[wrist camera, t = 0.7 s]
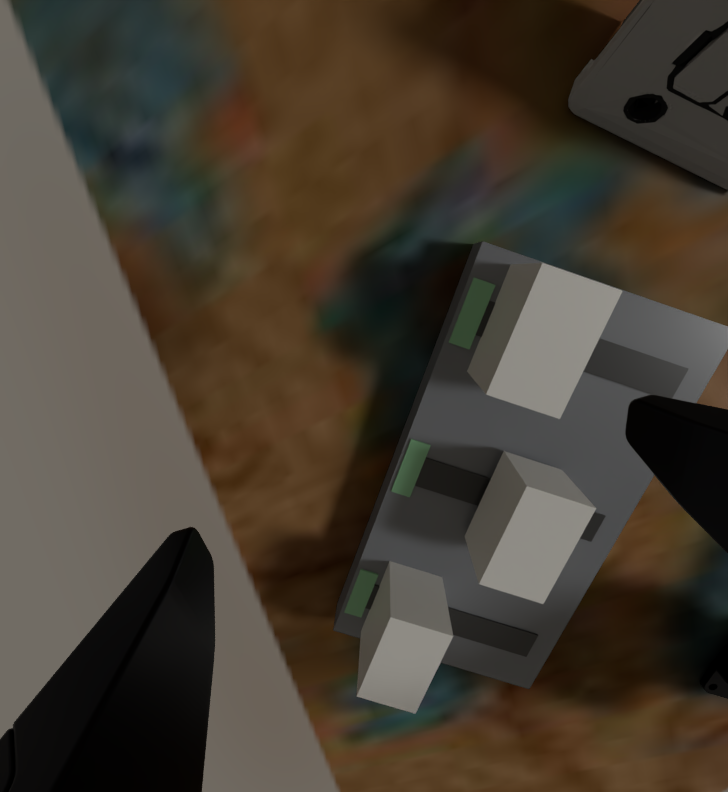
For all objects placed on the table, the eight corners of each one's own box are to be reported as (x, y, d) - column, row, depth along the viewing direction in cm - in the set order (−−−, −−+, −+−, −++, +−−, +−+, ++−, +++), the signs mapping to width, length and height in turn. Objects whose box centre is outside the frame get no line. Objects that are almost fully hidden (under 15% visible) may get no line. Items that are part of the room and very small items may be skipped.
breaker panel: (705, 324, 21) (825, 345, 15) (519, 659, 27) (554, 762, 21) (473, 243, 20) (507, 233, 15) (336, 604, 26) (323, 695, 21)
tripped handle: (562, 469, 21) (596, 508, 17) (519, 553, 22) (543, 604, 19) (503, 450, 21) (527, 486, 17) (464, 536, 22) (478, 584, 19)
